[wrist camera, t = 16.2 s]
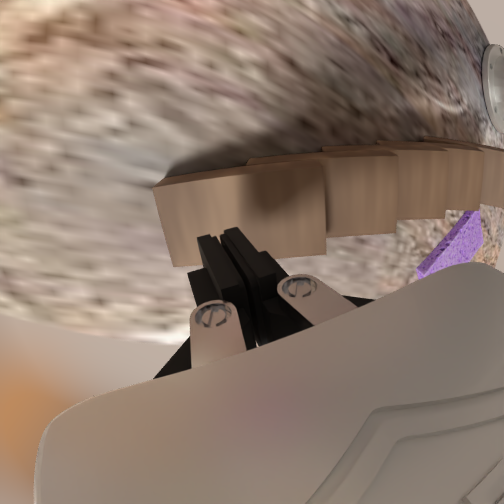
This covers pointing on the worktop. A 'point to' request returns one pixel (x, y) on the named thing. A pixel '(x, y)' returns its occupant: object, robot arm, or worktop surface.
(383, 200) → the tile
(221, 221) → the tile
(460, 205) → the tile
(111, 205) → the worktop surface
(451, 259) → the sponges
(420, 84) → the worktop surface
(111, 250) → the worktop surface
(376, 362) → the robot arm
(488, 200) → the tile
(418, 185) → the tile
